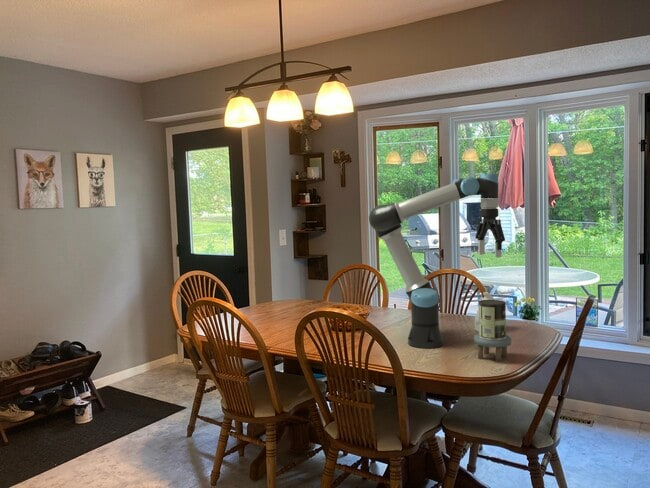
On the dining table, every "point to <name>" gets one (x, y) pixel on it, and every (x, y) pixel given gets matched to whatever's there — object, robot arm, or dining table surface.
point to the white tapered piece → (487, 297)
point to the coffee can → (492, 319)
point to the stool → (499, 344)
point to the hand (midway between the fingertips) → (489, 255)
